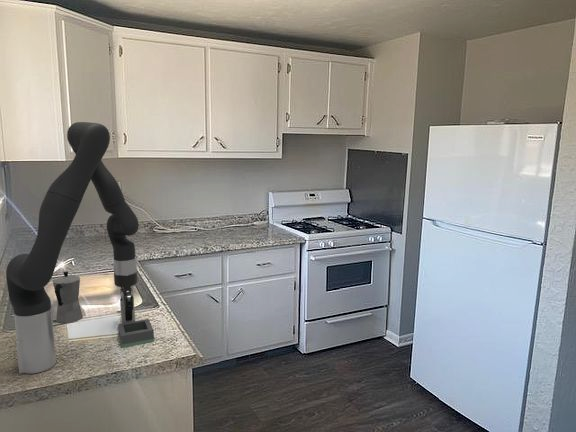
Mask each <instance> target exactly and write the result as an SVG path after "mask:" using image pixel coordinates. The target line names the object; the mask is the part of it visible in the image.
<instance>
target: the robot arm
mask: <svg viewBox="0 0 576 432" xmlns="http://www.w3.org/2000/svg"><path fill="white" fill-rule="evenodd" d="M66 138H67V142H68V144H69V146H70V148H71V150H72V151H73V152H74V154H75V155H74V158H73V159H72V161H71V163H70V164H69V165H68V167H66V169H65V170H64V171H63V172H61V174H59V175H58V176H57V177H56V178H55V180H54V181H52V183H51V184H50V186H49V187H48V189H47V191H46V193H45V195H44V198H43V200H42V202H41V204H40V208H39V211H38V212H39V213H38V222H37V223H38V224H37V225H38V227H37V234H36V238H35V241H34V244H32V245H33V246H32V247H31V250H30V251H29V253H21V254H17V255H15V256H14V257H13V258H11V259H10V261H9V262H8V264H7V266H6V270H5V271H6V272H5V273H6V274H5V276H6V277H5V278H6V279H5V280H6V284H7V291H8V299H9V301H10V304H11V306H12V309H13V316H14V317H13V319H14V325H15V326H14V327H15V336H16V340H15V348H16V350H15V351H16V357H17V364H18V365H17V366H18V374H19V375H20V374H39V373H42V372H45V371H47V370H50V369H51V368H53V367H54V366H55V365H56V363H57V354H56V345H55V343H56V342H55V335H54V334H55V333H54V323H53V314H52V313H53V311H52V300H51V297H50V296H49V295H48V293H47V291H46V289H45V287H46V286H47V285H48V284H49V283H50V281H51V280H52V277H53V274H54V272H55V270H56V265H57V263H58V260H59V258H60V257H59V256H60V253H61V250H62V246H63V244H64V242H65V239H66V237H67V235H68V233H69V230H70V228H71V225H72V223H73V221H74V219H75V217H76V215H77V213H78V210H79V208H80V205H81V203H82V200H83V197H84V196H85V193H86V191H87V189H88V186H89V185H90V182H92V184H93V186H94V189H95V191H96V193H97V196H98V198H99V200H100V202H101V205H102V207H103V209H104V210H105V212H107V213H108V214H111V215H110V216H108V218H107V220H106V231H107V235H108V238H109V241H110V243H111V246H112V249H113V251H112V253H113V266H112V268H113V280H114V281H113V282H114V286H116V287H119V288H120V289H119V292H120V299H121V298H122V302H123V304H124V307H125V309H124V310H125V319H126V321H129V320H132V310H133V297H134V290H133V286H136V284H138V267H137V265H138V264H137V259H136V246H135V243H134V242H133V241H131V240H130V239H128V238H127V236H129V237H131V236H133V235H135V234H136V233H137V232H138V230H139V227H140V226H139V219H138V217H137V215H136V214H135V213H134V210H132V208H131V207H130V205H129V204H128V203H127V202H126V200H125V196H124V194H123V192H122V188H121V187H120V184H119V183H118V181H117V179H116V178H115V177H114V175H113V174H112V173H111V172H110V171H109V169H108V168H107V167H106V165H105V164H104V162H103V161H102V160H103V157H104V156H105V154H106V152H107V150H108V147H109V146H110V141H111V134H110V132H109V129H108V128H107V126H105V125H103V124H101V123H98V122H87V121H77V122H76V121H75V122H74V123H71V125H70V126H69V127H68V129H67V133H66ZM128 305H130V307H127V306H128Z"/></svg>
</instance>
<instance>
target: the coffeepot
mask: <svg viewBox="0 0 576 432" xmlns="http://www.w3.org/2000/svg"><path fill="white" fill-rule="evenodd" d="M80 284H81V277H80V276H79V275H76V274H69V271H68V270H67V271H63V275H62V276H59V277H57V278H54V279H52V285H53V289H54V294H55V296H56V300H57V310H56V318H55V319H56V320H55V321H56V323H58V324H71V323H72V324H73V323H74V322H75V323H76V322H78V321H80V320H81V319H83V312H82V309H81V305H80V300H79V296H80Z"/></svg>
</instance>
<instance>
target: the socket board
mask: <svg viewBox="0 0 576 432" xmlns="http://www.w3.org/2000/svg"><path fill="white" fill-rule="evenodd" d="M117 332H118V339H119V343H120V346H121V348H128V347H135V346H139V345H143V344H149V343H153V342H155V333H154V332H155V331H154V328H153V326H152V324H151V322H150V319H149V318H145V319H139V320H135V321H132V322H126V323H122V322H121V323H117Z"/></svg>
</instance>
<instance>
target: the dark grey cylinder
mask: <svg viewBox="0 0 576 432" xmlns="http://www.w3.org/2000/svg"><path fill="white" fill-rule="evenodd" d="M119 301H120V302H119V305H120V316H121V319H120V320H121V323H126V322H132V321H136V315H135V311H136V310H135V298H134V296H133V310H132V320H129V321H126V319H125V310H124V309H125V307H124V304H123V302H122V298H121V297H120V298H119ZM127 307H130V305H128V306H127Z"/></svg>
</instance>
